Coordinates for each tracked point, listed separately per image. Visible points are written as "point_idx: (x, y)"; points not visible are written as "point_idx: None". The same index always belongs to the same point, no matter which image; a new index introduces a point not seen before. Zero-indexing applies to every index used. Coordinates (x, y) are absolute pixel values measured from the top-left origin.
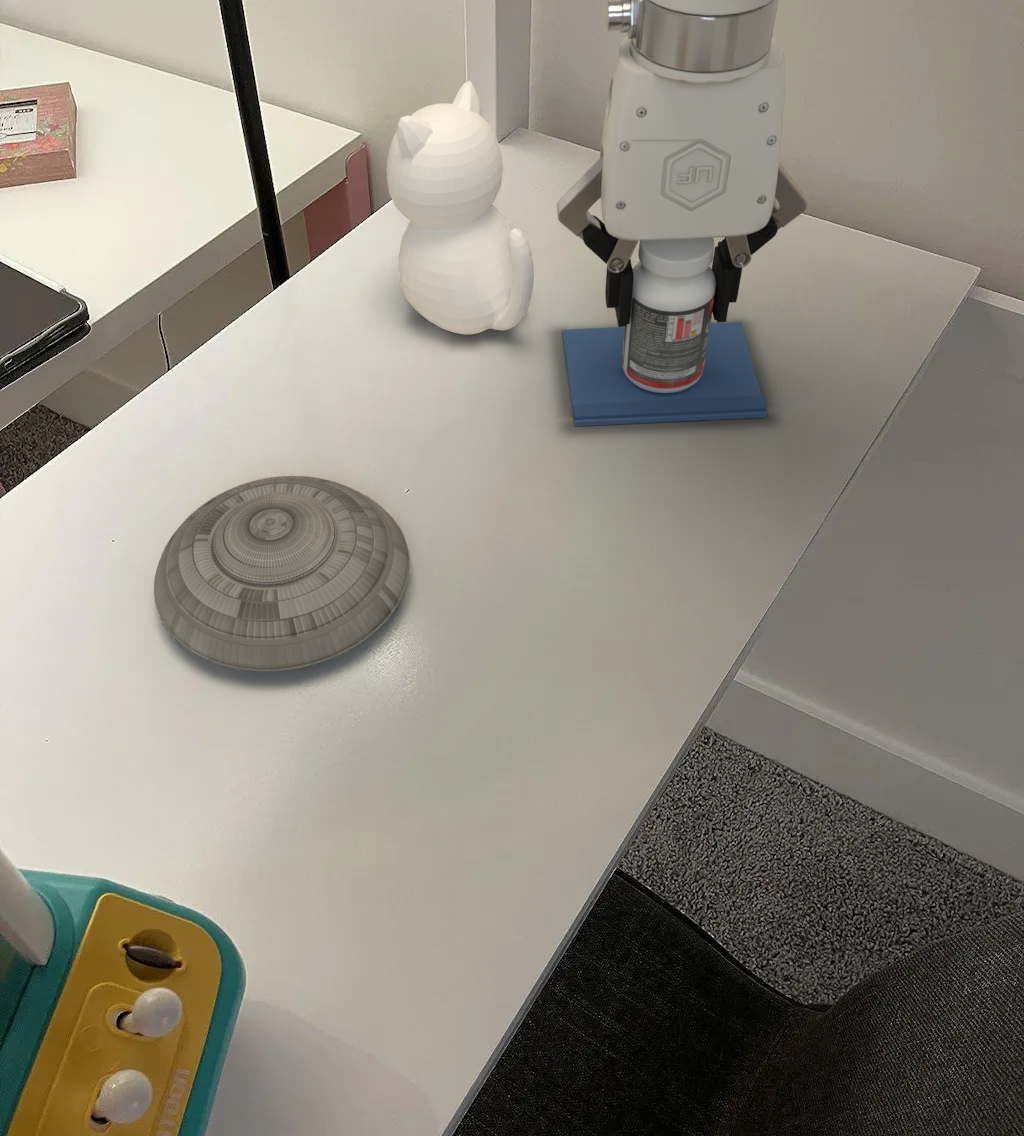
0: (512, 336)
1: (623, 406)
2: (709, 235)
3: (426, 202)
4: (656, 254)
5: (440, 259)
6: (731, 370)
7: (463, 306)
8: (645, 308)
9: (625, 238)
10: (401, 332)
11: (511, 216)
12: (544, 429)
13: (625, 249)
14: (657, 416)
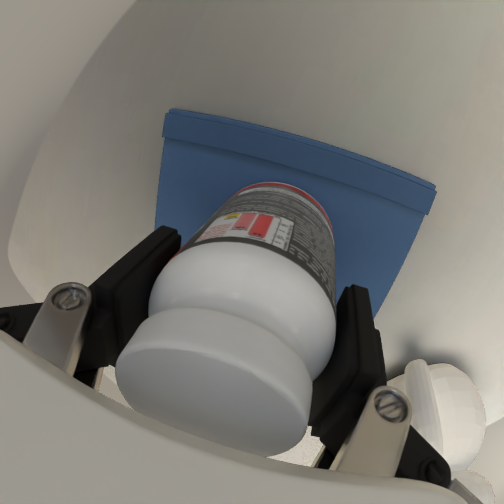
0: (406, 352)
1: (366, 181)
2: (76, 397)
3: (489, 496)
4: (284, 406)
5: (478, 439)
6: (184, 203)
7: (464, 389)
8: (327, 290)
9: (434, 488)
10: (477, 378)
11: (310, 450)
12: (465, 197)
13: (377, 442)
14: (322, 147)
